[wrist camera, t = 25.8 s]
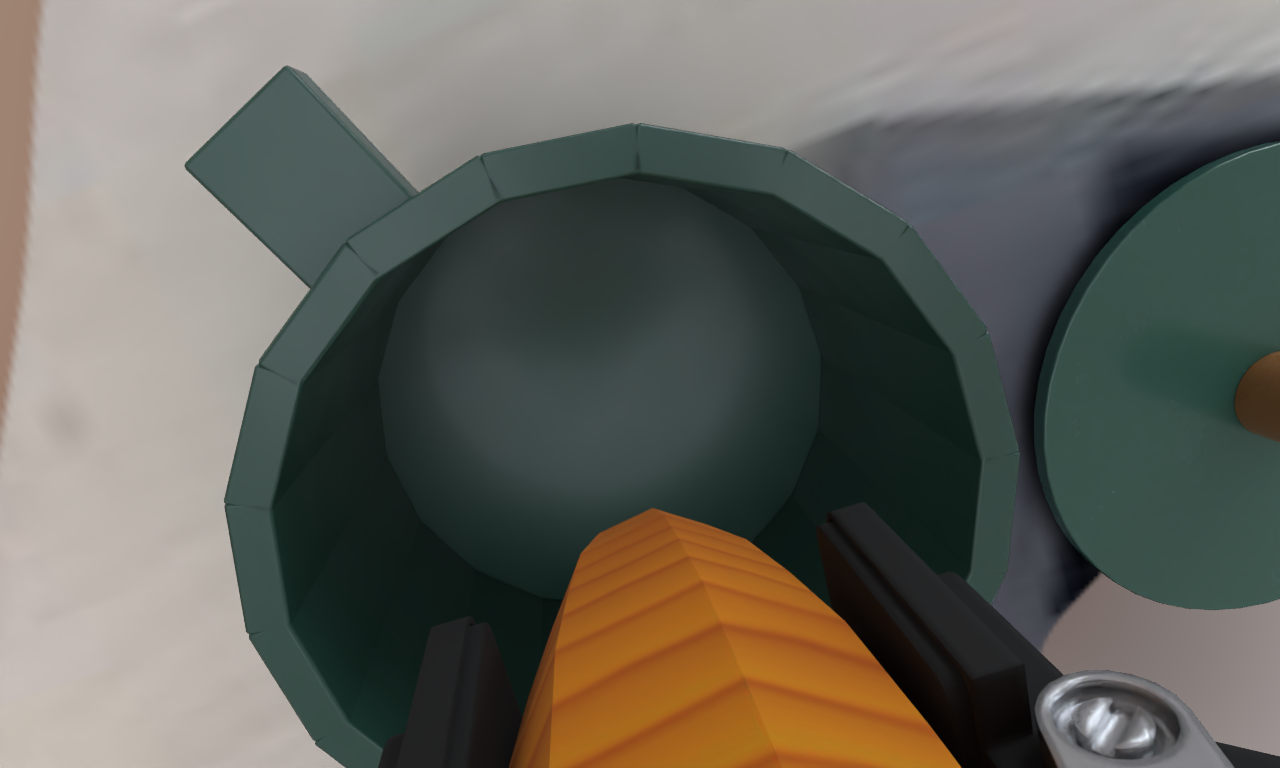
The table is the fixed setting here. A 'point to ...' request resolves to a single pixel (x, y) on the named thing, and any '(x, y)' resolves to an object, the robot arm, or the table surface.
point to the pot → (573, 386)
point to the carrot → (708, 665)
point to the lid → (1175, 394)
